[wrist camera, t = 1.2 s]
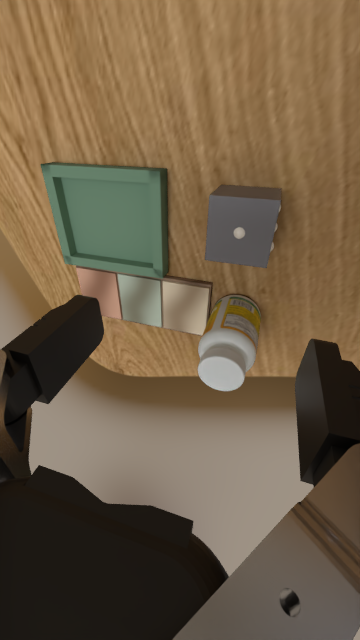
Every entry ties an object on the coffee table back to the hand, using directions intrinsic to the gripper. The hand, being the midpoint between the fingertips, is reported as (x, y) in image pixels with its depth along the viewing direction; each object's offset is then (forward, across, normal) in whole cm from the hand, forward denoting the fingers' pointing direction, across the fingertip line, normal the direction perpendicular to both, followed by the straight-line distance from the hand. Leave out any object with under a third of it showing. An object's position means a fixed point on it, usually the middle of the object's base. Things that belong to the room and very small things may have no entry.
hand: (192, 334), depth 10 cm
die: (+18, 0, 0) cm, 18 cm away
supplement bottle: (+18, -1, +10) cm, 21 cm away
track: (+18, +10, +10) cm, 23 cm away
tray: (+18, +13, +2) cm, 22 cm away
